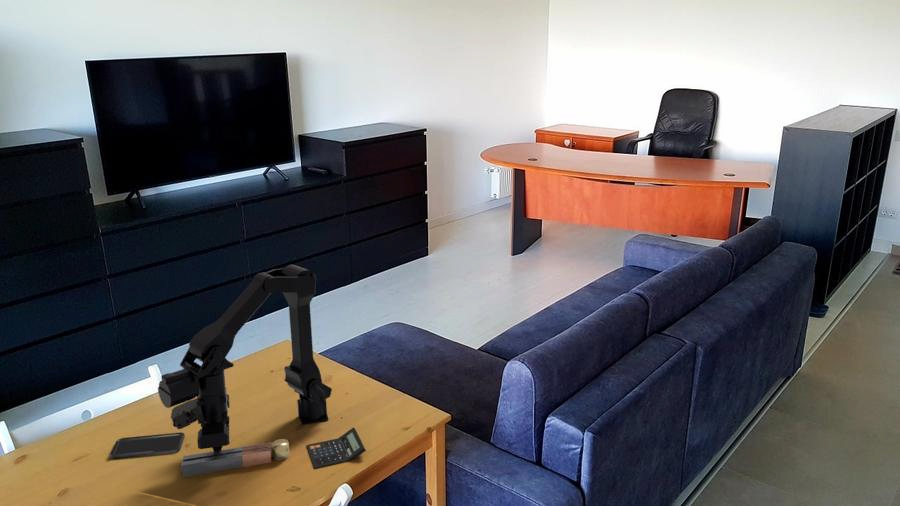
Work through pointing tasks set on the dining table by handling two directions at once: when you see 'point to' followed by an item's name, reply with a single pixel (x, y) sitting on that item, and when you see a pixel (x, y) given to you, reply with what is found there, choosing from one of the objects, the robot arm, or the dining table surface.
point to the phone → (147, 445)
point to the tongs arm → (277, 450)
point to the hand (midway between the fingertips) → (217, 452)
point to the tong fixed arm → (226, 462)
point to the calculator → (336, 450)
